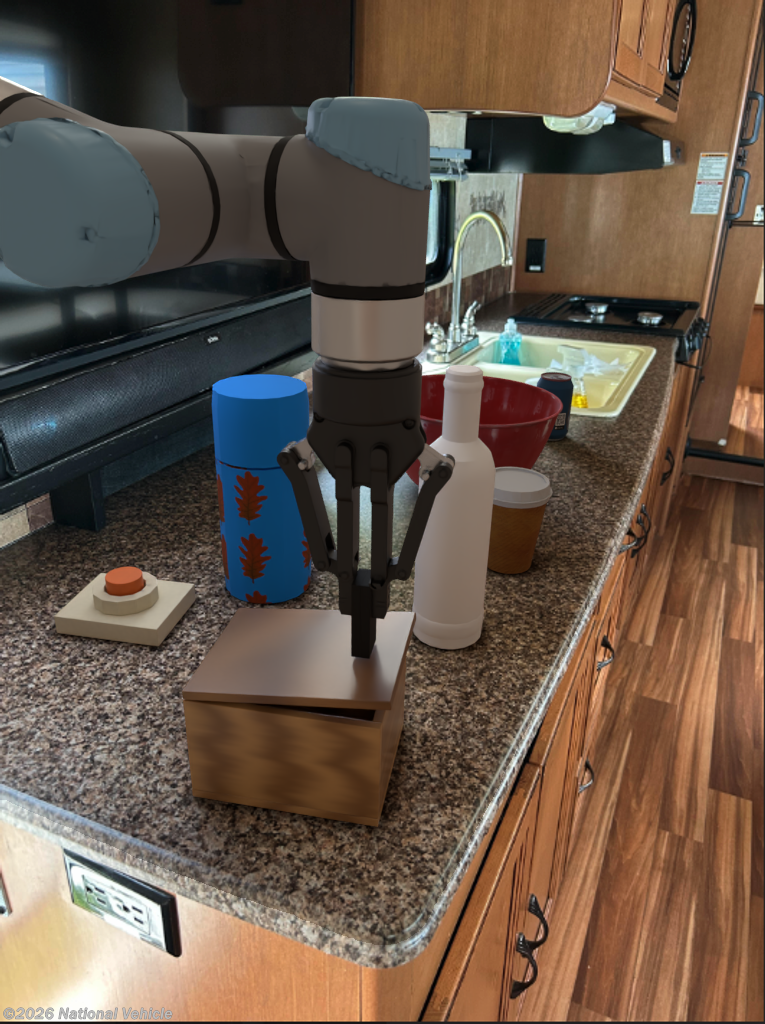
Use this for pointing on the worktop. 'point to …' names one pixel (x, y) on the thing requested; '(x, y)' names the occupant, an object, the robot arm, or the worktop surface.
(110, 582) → the button
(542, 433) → the mixing bowl
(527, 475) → the disposable coffee cup
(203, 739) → the wooden box
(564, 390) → the soda can
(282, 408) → the thermos
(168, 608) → the control block
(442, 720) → the worktop surface
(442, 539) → the bottle
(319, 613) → the wooden box lid
